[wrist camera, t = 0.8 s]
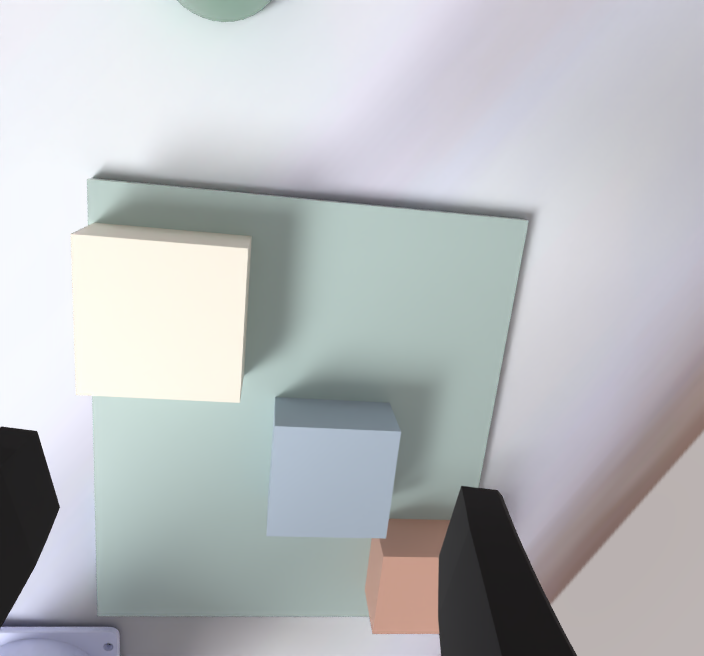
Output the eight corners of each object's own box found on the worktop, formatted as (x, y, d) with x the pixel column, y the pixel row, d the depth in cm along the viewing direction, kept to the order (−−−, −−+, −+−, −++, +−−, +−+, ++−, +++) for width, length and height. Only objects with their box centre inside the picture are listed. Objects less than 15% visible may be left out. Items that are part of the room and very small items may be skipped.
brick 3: (445, 590, 33) (461, 633, 30) (364, 590, 33) (372, 633, 30) (458, 520, 32) (476, 558, 29) (374, 518, 31) (383, 556, 29)
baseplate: (451, 609, 34) (454, 616, 34) (100, 607, 32) (97, 616, 31) (523, 219, 28) (528, 220, 27) (91, 178, 25) (87, 179, 25)
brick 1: (243, 375, 28) (239, 402, 25) (97, 367, 27) (75, 395, 25) (251, 236, 26) (248, 248, 23) (94, 222, 25) (70, 233, 23)
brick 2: (376, 501, 31) (386, 538, 28) (267, 498, 30) (266, 536, 28) (389, 402, 29) (400, 431, 27) (275, 397, 29) (274, 425, 26)
